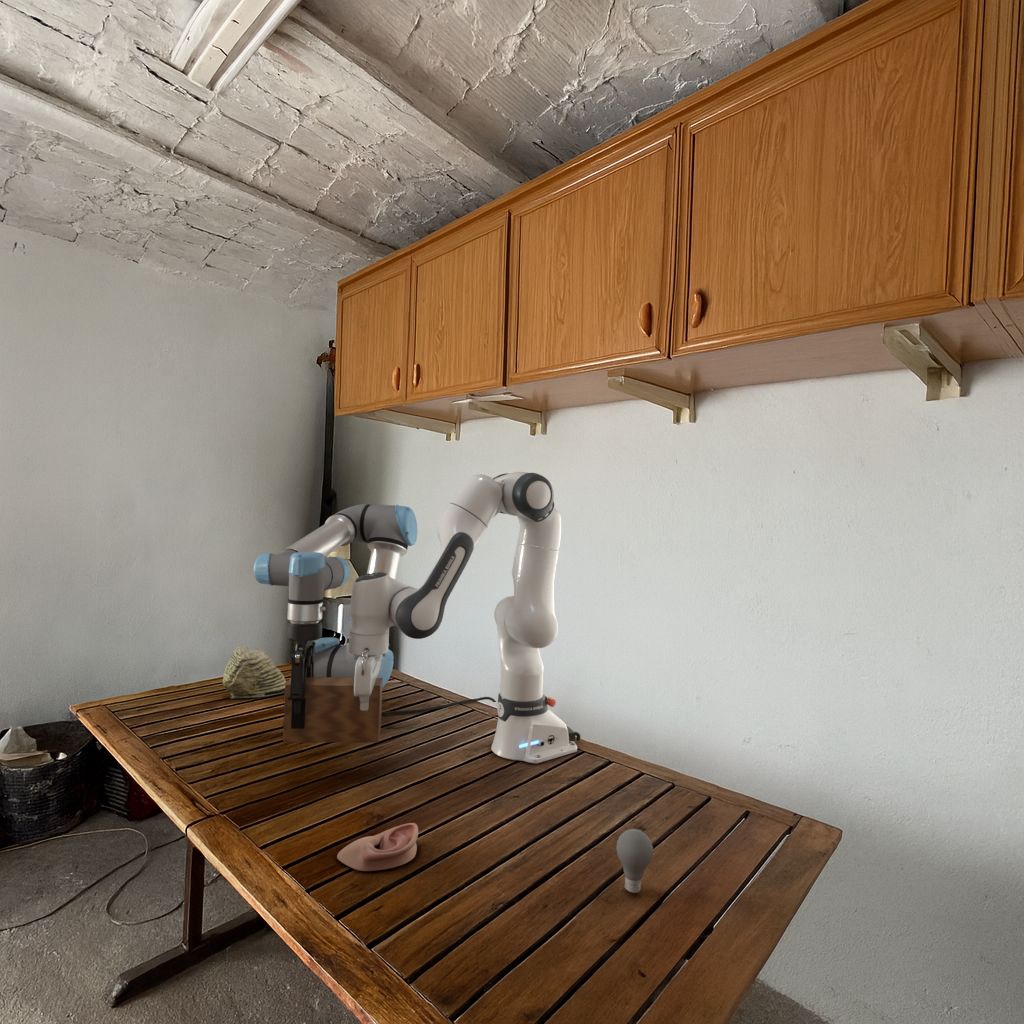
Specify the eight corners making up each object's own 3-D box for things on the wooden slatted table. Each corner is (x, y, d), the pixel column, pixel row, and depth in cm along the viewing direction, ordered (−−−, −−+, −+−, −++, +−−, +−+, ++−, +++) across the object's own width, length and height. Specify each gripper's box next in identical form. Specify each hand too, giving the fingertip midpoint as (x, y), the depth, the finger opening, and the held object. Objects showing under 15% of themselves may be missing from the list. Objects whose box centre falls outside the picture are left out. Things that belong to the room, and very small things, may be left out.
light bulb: (610, 879, 108) (613, 822, 108) (644, 879, 109) (647, 822, 109) (619, 902, 102) (622, 840, 102) (655, 901, 103) (658, 840, 103)
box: (282, 742, 140) (285, 684, 140) (289, 732, 146) (291, 676, 146) (377, 742, 142) (380, 685, 142) (380, 732, 148) (382, 677, 148)
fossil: (218, 695, 195) (220, 647, 195) (278, 685, 208) (279, 640, 207) (228, 703, 189) (230, 653, 188) (289, 692, 201) (290, 645, 201)
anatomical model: (329, 843, 109) (358, 811, 120) (328, 865, 109) (357, 832, 120) (402, 855, 106) (425, 821, 117) (401, 878, 106) (424, 842, 117)
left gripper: (313, 630, 134) (309, 738, 134) (329, 613, 153) (325, 708, 153) (276, 629, 133) (272, 738, 133) (297, 612, 152) (293, 708, 152)
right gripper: (378, 655, 135) (375, 720, 135) (386, 634, 155) (384, 690, 155) (348, 654, 134) (345, 719, 134) (360, 634, 154) (358, 690, 154)
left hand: (301, 722), depth 143 cm, fingers closed on box, 6 cm apart
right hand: (366, 704), depth 145 cm, fingers closed on box, 6 cm apart
